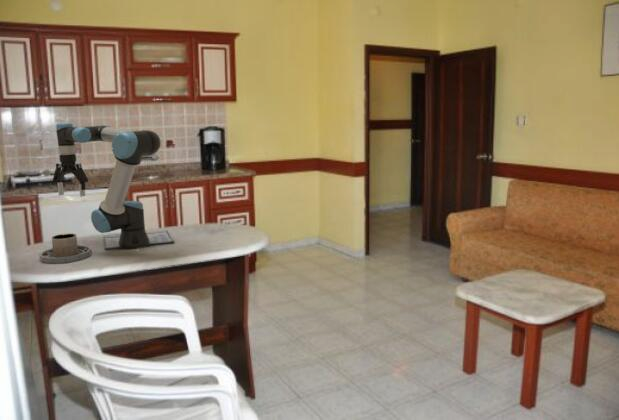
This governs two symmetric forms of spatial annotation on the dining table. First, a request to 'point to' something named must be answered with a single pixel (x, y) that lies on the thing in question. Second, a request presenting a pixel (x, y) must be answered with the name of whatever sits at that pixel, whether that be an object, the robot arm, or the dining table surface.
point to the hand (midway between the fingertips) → (72, 195)
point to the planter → (64, 245)
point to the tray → (49, 257)
